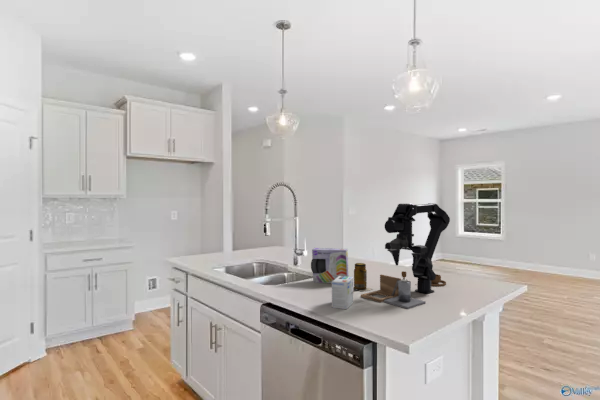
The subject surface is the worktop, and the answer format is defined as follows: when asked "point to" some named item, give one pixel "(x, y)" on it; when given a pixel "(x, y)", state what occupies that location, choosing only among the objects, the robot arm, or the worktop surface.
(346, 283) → the light bulb box
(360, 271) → the condiment
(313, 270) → the cake pan box
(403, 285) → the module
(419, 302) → the mat
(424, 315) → the worktop surface
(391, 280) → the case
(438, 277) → the place setting
